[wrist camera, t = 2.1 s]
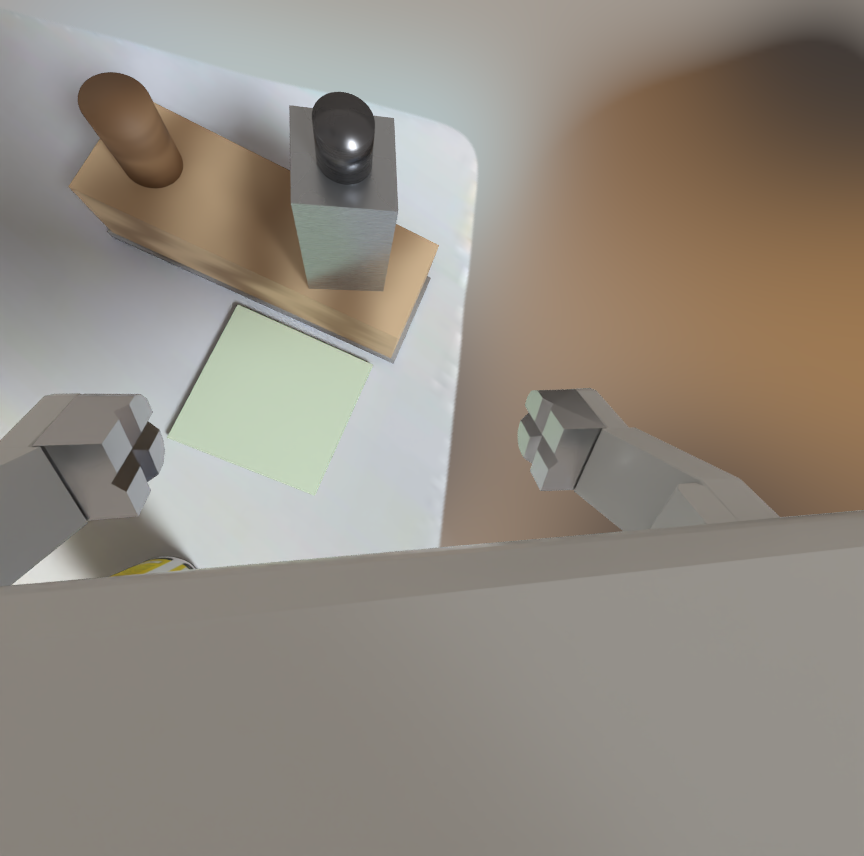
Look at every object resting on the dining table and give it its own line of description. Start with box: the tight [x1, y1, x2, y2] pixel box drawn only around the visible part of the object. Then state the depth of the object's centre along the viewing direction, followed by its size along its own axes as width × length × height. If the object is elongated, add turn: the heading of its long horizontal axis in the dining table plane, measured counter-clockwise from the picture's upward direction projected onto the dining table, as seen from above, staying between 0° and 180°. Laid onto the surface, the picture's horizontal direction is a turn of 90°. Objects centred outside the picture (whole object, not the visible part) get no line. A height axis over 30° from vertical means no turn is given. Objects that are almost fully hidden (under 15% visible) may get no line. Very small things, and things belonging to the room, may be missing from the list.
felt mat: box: [167, 305, 373, 496], centre depth 28 cm, size 10×10×1 cm
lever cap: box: [289, 92, 398, 291], centre depth 21 cm, size 4×4×10 cm
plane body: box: [69, 72, 439, 363], centre depth 26 cm, size 21×7×9 cm, turn 68°
